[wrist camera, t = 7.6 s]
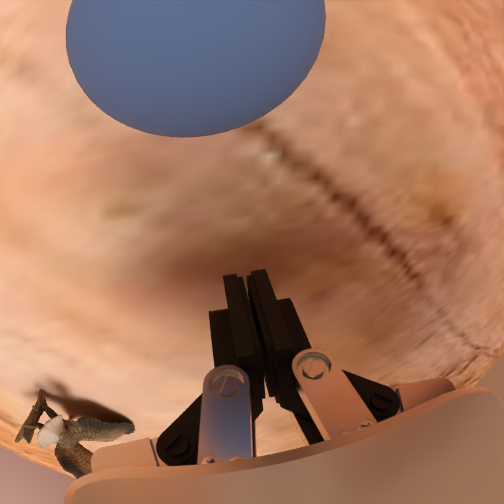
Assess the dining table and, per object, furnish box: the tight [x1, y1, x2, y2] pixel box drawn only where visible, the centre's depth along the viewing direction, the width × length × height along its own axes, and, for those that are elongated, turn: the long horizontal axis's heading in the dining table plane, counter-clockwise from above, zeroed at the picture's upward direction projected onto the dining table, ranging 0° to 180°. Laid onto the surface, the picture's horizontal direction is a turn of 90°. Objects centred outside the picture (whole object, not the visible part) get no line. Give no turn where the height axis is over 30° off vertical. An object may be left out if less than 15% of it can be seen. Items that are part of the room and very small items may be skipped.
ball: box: [66, 0, 326, 137], centre depth 5 cm, size 6×6×6 cm
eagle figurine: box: [15, 389, 135, 479], centre depth 15 cm, size 8×7×9 cm
